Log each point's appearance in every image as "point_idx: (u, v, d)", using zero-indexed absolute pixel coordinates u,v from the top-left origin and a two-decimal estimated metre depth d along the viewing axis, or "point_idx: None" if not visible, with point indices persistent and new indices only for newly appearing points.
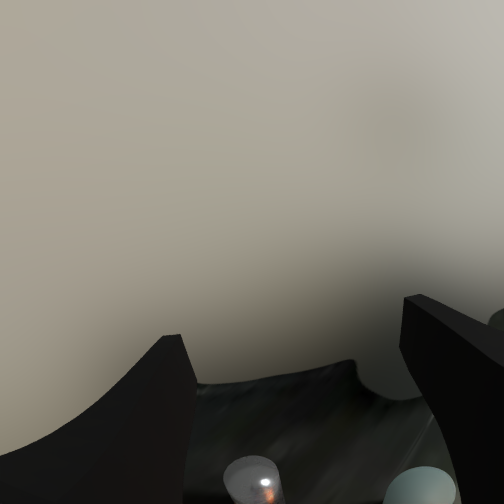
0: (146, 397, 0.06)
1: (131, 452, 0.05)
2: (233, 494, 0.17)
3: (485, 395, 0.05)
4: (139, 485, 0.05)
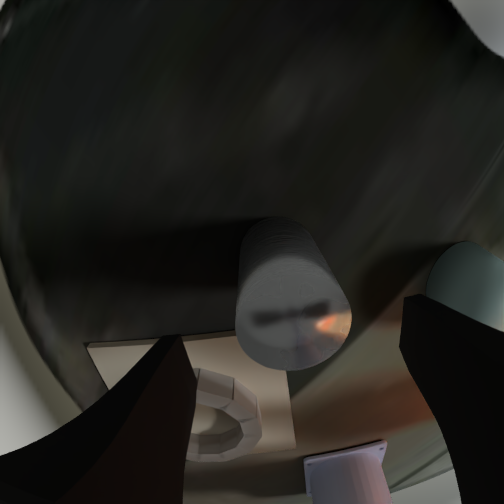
0: (146, 397, 0.06)
1: (131, 452, 0.05)
2: (266, 365, 0.11)
3: (485, 395, 0.05)
4: (139, 485, 0.05)
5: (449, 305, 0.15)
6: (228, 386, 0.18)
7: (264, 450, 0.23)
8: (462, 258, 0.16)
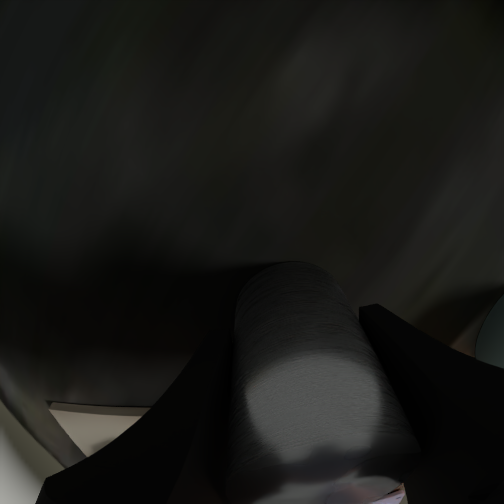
0: (210, 394, 0.06)
1: (204, 454, 0.05)
2: None
3: (427, 419, 0.05)
4: (211, 489, 0.05)
5: None
6: None
7: None
8: None
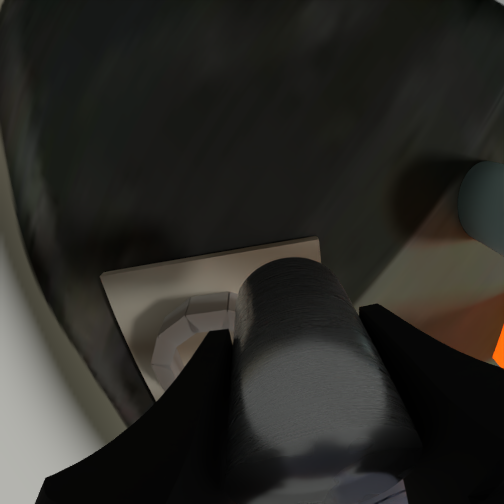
0: (209, 394, 0.06)
1: (204, 454, 0.05)
2: None
3: (427, 419, 0.05)
4: (211, 489, 0.05)
5: (483, 215, 0.14)
6: None
7: None
8: (485, 171, 0.15)
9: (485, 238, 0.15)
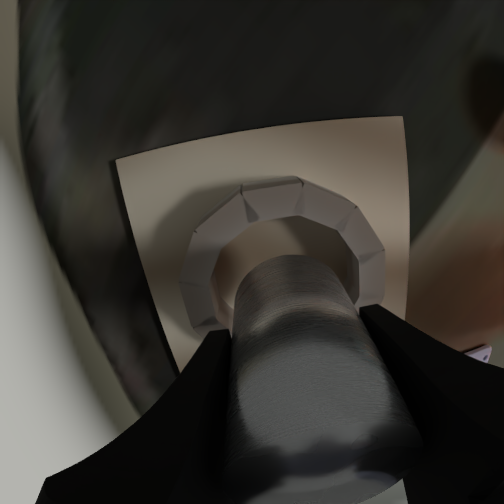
0: (210, 394, 0.06)
1: (204, 454, 0.05)
2: None
3: (427, 419, 0.05)
4: (211, 489, 0.05)
5: None
6: (342, 196, 0.13)
7: None
8: None
9: None
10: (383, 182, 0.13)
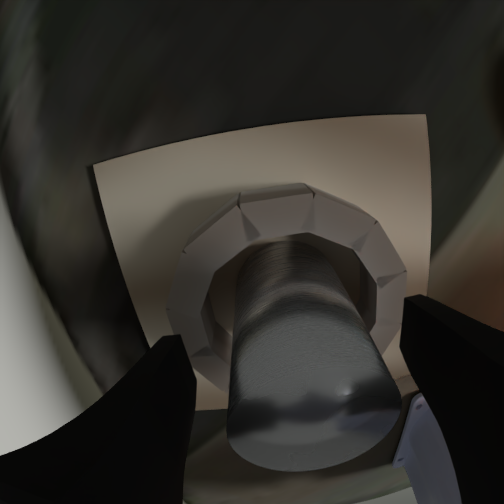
0: (146, 397, 0.06)
1: (131, 452, 0.05)
2: (266, 464, 0.07)
3: (485, 395, 0.05)
4: (139, 485, 0.05)
5: None
6: (358, 208, 0.10)
7: None
8: None
9: None
10: (403, 190, 0.11)
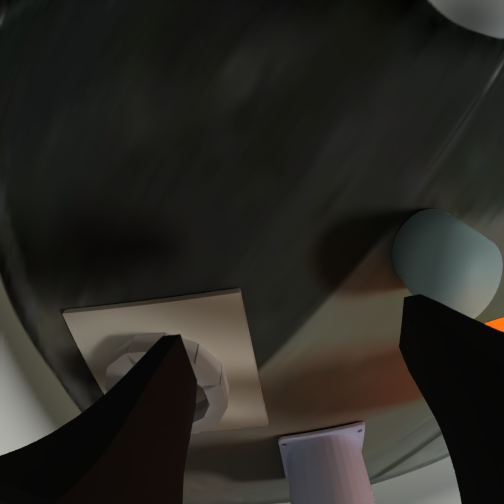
0: (146, 397, 0.06)
1: (131, 452, 0.05)
2: None
3: (485, 395, 0.05)
4: (139, 485, 0.05)
5: (410, 287, 0.16)
6: (191, 350, 0.19)
7: (236, 426, 0.23)
8: (412, 236, 0.17)
9: None
10: (227, 335, 0.20)
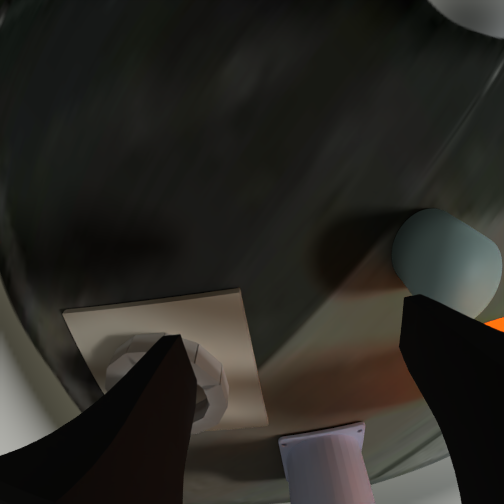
0: (146, 397, 0.06)
1: (131, 452, 0.05)
2: None
3: (485, 395, 0.05)
4: (139, 485, 0.05)
5: (411, 291, 0.16)
6: (191, 350, 0.19)
7: (236, 426, 0.23)
8: (408, 240, 0.17)
9: None
10: (227, 335, 0.20)
